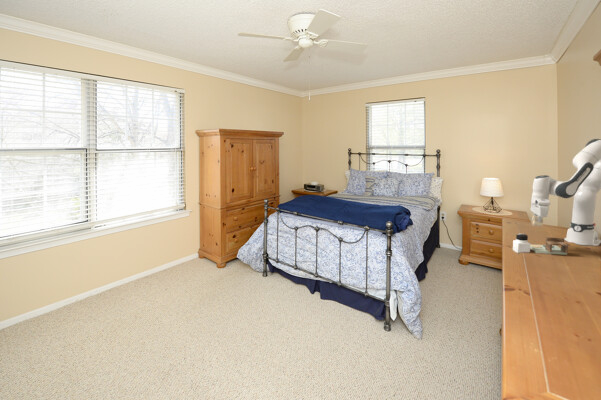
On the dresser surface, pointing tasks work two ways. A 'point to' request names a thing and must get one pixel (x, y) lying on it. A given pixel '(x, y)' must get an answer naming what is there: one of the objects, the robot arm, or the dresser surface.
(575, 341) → the dresser surface
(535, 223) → the block
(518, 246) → the medicine bottle
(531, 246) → the board
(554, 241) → the brown wooden piece
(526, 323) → the dresser surface
